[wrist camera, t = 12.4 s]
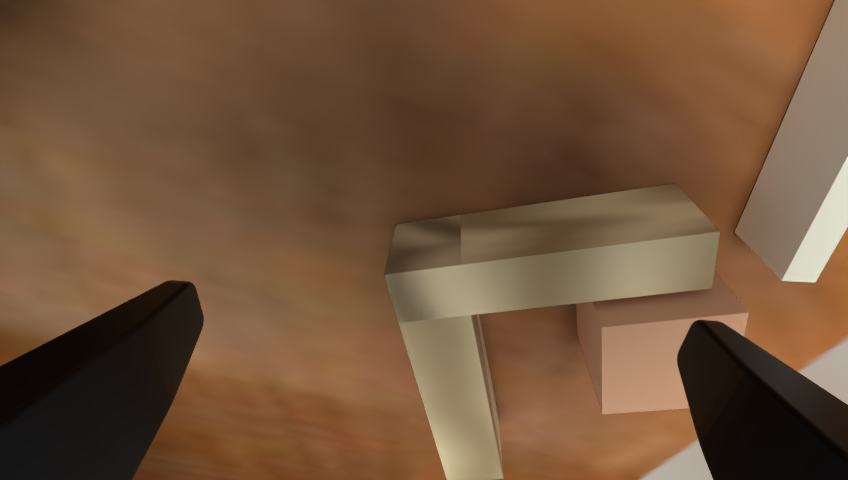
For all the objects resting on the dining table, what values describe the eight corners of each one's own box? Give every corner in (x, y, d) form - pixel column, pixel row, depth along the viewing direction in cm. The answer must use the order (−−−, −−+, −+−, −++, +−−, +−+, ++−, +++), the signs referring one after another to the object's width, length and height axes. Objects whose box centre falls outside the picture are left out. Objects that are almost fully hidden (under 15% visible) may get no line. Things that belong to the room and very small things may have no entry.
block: (576, 332, 24) (601, 414, 20) (573, 252, 21) (601, 327, 17) (680, 322, 23) (729, 405, 19) (689, 237, 21) (748, 312, 16)
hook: (449, 418, 28) (447, 481, 25) (396, 223, 21) (383, 274, 18) (656, 402, 26) (685, 469, 23) (674, 182, 19) (720, 231, 16)
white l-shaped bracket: (514, 222, 21) (523, 268, 18) (576, -239, 13) (611, -296, 10) (762, 233, 20) (815, 282, 17) (987, -242, 12) (1154, -303, 9)
